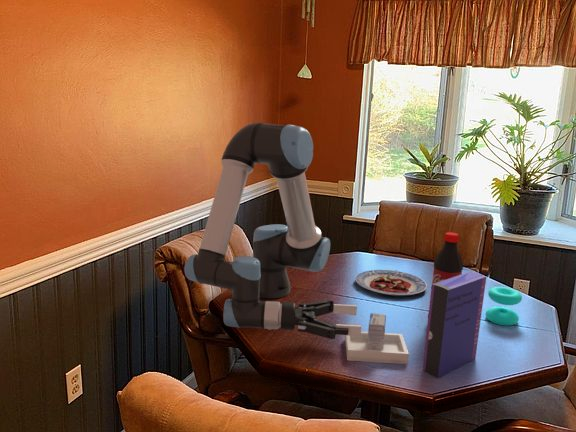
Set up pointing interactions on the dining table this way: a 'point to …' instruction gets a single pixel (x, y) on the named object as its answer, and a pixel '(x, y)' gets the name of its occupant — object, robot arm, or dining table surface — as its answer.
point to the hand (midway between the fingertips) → (358, 320)
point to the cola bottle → (448, 260)
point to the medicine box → (376, 332)
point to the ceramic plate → (391, 282)
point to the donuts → (502, 313)
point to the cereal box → (453, 323)
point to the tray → (391, 353)
